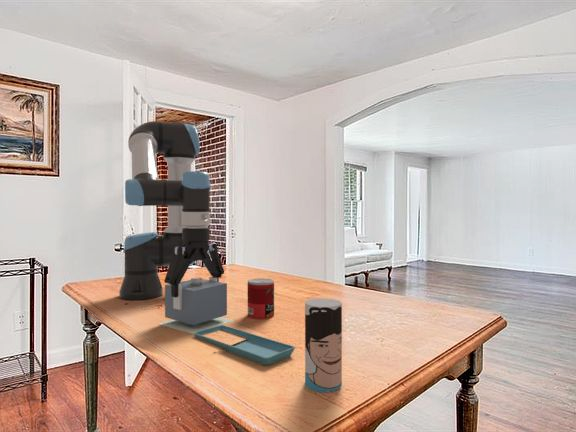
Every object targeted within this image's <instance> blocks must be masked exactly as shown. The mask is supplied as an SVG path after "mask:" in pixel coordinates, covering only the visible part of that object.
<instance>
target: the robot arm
mask: <svg viewBox="0 0 576 432" xmlns="http://www.w3.org/2000/svg"><path fill="white" fill-rule="evenodd" d="M127 143H128V144H127V145H128V146H127V147H128V149H129V151H130V153H131V178H130V179H127V180H125V183H124V184H125V185H124V187H125V188H124V194H125V195H124V197H125V198H124V200H125V201H124V202H125V203H126V205H129V206H138V207H145V206H148V207H149V206H151V207H152V206H153V207H154V206H155V207H159V206H160V207H161V206H162V207H163V206H166V207H167V226H166V227H165V229H163V235H159V233H158V231H151V232H143V233H136V234H131V235H128V236H126V237H125V239H124V247H123V251H124V259H123V260H124V277H123V278H122V282H121V286H120V288H119V294H118V295H119V298H120V299H122V300H127V301H128V300H129V301H136V300H137V301H138V300H139V301H140V300H149V299H154V298H159V297H161V296H162V295H164V291H163V285H162V283H161V279H160V277H159V272H158V271H159V270H158V267H168V269H167V272H166V273H165V274H166V275H165V277H164V283H165V284H171V296H172V297H173V308H174V309H178V310H181V309H182V285H179V284H180V282H182V280H183V278H184V276H185V274H186V273H187V271H188V268H189V267H190V266H191V265H194V264H195V263H196V262H197V261H201V262H202V263H203V264H204V266H205V268H206V269H207V271H208V273H209V274H210V276H209V277H208V280H210V281H216V282H220V279H221V278H222V277H223V275H224V274H225V270H224V266H223V264H222V261H221V257H220V255H219V252H218V244H217V243H213V242H209V241H210V240H211V229H210V227H209V226H210V225H211V223H210V221H211V217H210V216H211V212H210V210H211V209H210V207H211V206H210V205H211V204H210V202H211V201H210V196H211V195H210V193H211V191H210V190H211V189H210V187H211V182H210V181H211V180H210V174H209V173H208V172H207V171H199V170H197V171H196V170H195V171H194V170H192V163H193V162H194V161H195V160H196V156H199V155H200V148H201V147H200V138H199V133H198V130H197V128H196V126H195V125H193V124H189V123H184V122H181V123H180V122H170V121H169V122H167V121H155V120H153V121H147V122H144V123H142V124H141V125H139V126H137V127H135V129H133V130H132V131H131V133H130V135H129V137H128V142H127ZM156 154H163V160H164V162H166V163H167V180H166V179H159V174H158V166H157V155H156Z"/></svg>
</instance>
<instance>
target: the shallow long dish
mask: <svg viewBox="0 0 576 432" xmlns="http://www.w3.org/2000/svg"><path fill="white" fill-rule="evenodd" d="M218 331H224V332H228V333H231V334H232V335H236V336H239V337H242V338H244V340H241V341H238V342H236V343H233V344H228V343H225V342H223V341H219V340H216V339H213V338H211V337H207V336H205V335H208V334H212V333H215V332H216V333H217V332H218ZM193 335H194V336H195V338H197V339H200V340H202V341H204V342H207V343H210V344H213V345H214V346H215V345H216V346H219V347H221V348H222V350H223V351H226V352H228V353H231V354H234V355H237V356H239V357H242V358H244V359H247V360H250V361H252V362H254V363H258V364H260V365H263V366H266V367H268V366H270V365H272V364H275V363H277V362H281V361H283V360H285V359H286V358H290V357H291V356H292V354H293V352H294V351H295V349H296V346H294V345H291V344H287V343H284V342H280V341H277V340H273V339H271V338H267V337H263V336H260V335H256V334H254V333H250V332H247V331H243V330H241V329H238V328H234V327H230V326H228V325H226V324H223V325H220V326H216V327H213V328H209V329H206V330H202V331H199V332H195V333H194V334H193Z"/></svg>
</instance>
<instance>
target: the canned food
mask: <svg viewBox="0 0 576 432" xmlns="http://www.w3.org/2000/svg"><path fill="white" fill-rule="evenodd" d="M274 316H275V281H274V279H270V278H263V277H262V278H261V277H260V278H251V279H248V280H247V317H248V318H251V319H255V320H263V319H270V318H273V317H274Z"/></svg>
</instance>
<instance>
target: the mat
mask: <svg viewBox="0 0 576 432" xmlns="http://www.w3.org/2000/svg"><path fill="white" fill-rule="evenodd" d="M234 321H236V320H235V319H230V318H226V317H223V316H222V317H218V318H215V319H212V320H209V321H206V322H202V323H199V324H196V325H191V324H187V323H184V322H180V321H177V320H173V319H169V320H166V321H162V322H159V323H157V325H160V326H164V327H165V328H166V327H167V328H171V329H172V330H173V329H174V330H177V331H180V332H185V333H188V334H191V335H194V333H195V332H199V331H202V330H206V329H209V328H213V327H216V326H220V325H226V324H228V323H232V322H234Z"/></svg>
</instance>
